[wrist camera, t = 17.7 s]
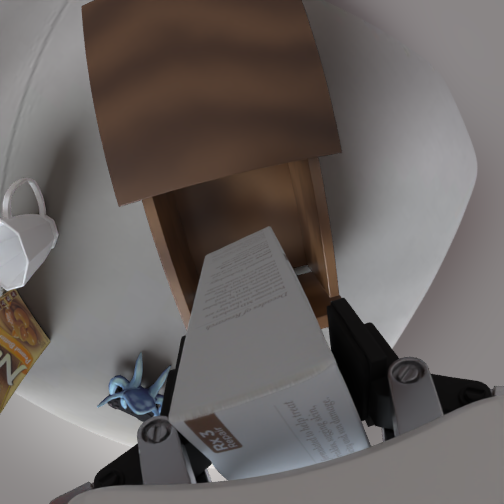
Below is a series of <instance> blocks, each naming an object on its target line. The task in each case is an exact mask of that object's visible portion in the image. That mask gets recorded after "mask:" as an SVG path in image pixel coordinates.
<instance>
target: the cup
mask: <svg viewBox="0 0 504 504" xmlns="http://www.w3.org/2000/svg"><path fill="white" fill-rule="evenodd" d="M25 182H29V184H30V185H31V187H32V189H33V191H34V193H35V196H36V198H37V201H38V205H39V215H38V214H23V215H17V216H12V212H11V203H10V202H11V198H12V196H13V194H14V192H15V190H16V189H17V187H19V186H20V185H21V184H23V183H25ZM58 236H59V233H58V230H57V227H56V224H55V221H54V220H53V219H52V218H50V217H49V216H47V215H46V206H45V202H44V198H43V196H42V193H41V191H40V188H39V186H38V184H37V183H36V181H35V180H34V179H30V178H21V179H19V180H17V181H15V182H14V183H13V184H11V185H10V187H9V188H8V190H7V192H6V193H5V196H4V200H3V218H0V286H2V287H3V288H4V289H5V290H7V291H9V290H12V289H16V288H19V287H23V286H24V285H25V284H26V283H27V282H28V280H29V279H30V278H31V276H32V275H33V274H34V273H35V271H36V270H37V269H38V268H39V267H40V265H41V264H42V263H43V262H44V260H45V259H46V257H47V256H48V254H49V252H50V250H51V249H53V248H54V247H55V245H56V242H57V239H58Z"/></svg>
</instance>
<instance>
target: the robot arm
mask: <svg viewBox="0 0 504 504" xmlns="http://www.w3.org/2000/svg"><path fill="white" fill-rule="evenodd" d="M327 317H328V326H329V335H330V344H331V352H332V354H333V356H334V358H335V360H336V364H337V367H338V369H339V371H340V373H341V375H342V377H343V379H344V381H345V384H346V386H347V388H348V391H349V393H350V395H351V398H352V400H353V403H354V405H355V407H356V410H357V412H358V414H359V417H360V419H361V421H364V420H365V421H366V423H367V425H368V427H369V426H372V425H375V426H378V427H382V436H383V442H382V443H380V444H377V445H374V446H371V447H369V448H366V449H363V450H360V451H357V452H354V453H351V454H348V455H345V456H342V457H338V458H335V459H332V460H328V461H325V462H321V463H317V464H314V465H310V466H306V467H302V468H297V469H293V470H289V471H284V472H279V473H274V474H268V475H263V476H257V477H251V478H244V479H237V480H228V481H220V482H212V481H211V478H210V476H209V473H208V470H207V468H208V467H209V466H210V465H211V464H212V462H211V461H210V460H209V459H208V458H207V457H206V456H205V455H204V454H203V453H202V452H200V451H199V450H198V449H197V448H196V447H195V446H194V445H193V444H192V443H191V442H190V441H188V440H187V439H186V438H185V437H184V436H183V435H182V434H181V433H180V432H179V431H178V430H177V429H176V428H175V427H174V426H173V425H172V424H171V423H170V422H169V412H170V407H171V403H172V397H173V393H174V389H175V384H176V379H177V374H178V369H179V365H180V360H181V356H182V351H183V347H184V342H185V338H186V336H183V337H182V338H181V343H180V348H179V353H178V358H177V364H176V369H174V370H170V371H169V373H168V377H167V382H166V387H165V392H164V397H163V402H162V407H161V412H160V416H154V417H152V418H149V419H148V420H146V421H145V422H143V423H142V425H141V426H140V427H139V429H138V432H137V440H138V444H136V445H135V446H134V447H132V448H131V449H130V450H128V451H127V452H125V453H124V454H123V455H121V456H120V457H118V458H117V459H116V460H114V461H113V462H111V463H110V464H108V465H107V466H106V467H104V468H103V469H101V470H100V471H99V472H98V473H97V475H96V476H95V479H94V483H92V484H91V483H90V482H87V483H85V484H83V485H81V486H79V487H77V488H75V489H73V490H71V491H69V492H67V493H65V494H63V495H61V496H59V497H57V498H55V499H53V500H52V501H51V502H50V504H504V386H494V388H493V389H490V388H489V387H488V386H487V385H486V384H484V383H482V382H479V381H473V380H467V379H460V378H452V377H447V376H441V375H435V374H430V371H429V368H428V366H427V365H426V363H425V362H423V361H422V360H421V359H418V358H414V357H404V358H400V359H399V358H398V356H397V355H396V354H395V353H394V351H393V350H392V348H391V347H390V346H389V344H388V343H387V342H386V340H385V339H384V338H383V336H382V335H381V334H380V333H379V331H378V330H377V329H376V327H375V326H374V325H373V324H372V323H370V322H369V323H366V324H363V322H362V321H361V320H360V318H359V317H358V315H357V314H356V313H355V311H354V310H353V309H352V307H351V306H350V305H349V303H348V302H347V301H346V299H345V298H341V299H337V300H334V301H331V302H330V305H329V306H327Z"/></svg>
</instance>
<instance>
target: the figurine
mask: <svg viewBox="0 0 504 504" xmlns="http://www.w3.org/2000/svg"><path fill="white" fill-rule="evenodd" d="M170 367H171V365H170V366H169V367H168V368H167V369H166V370H164V371H163V372H162V374H161V375H160V377H159V378H158V379H157V381H156V382H155V383H154V385H152V386H151V387H149V388H148V389H147V388H143V387H142V386H141V378H142V373H143V362H142V352H141V353H140V355H139V357H138V359H137V361H136V365H135V371H134V376H133V378H132V380H131V382H130V381H128V380H127V379H126V378H125V377H123V376H121V375H117V376H115V377H114V378H112V379H111V380H110V382H109V391H110V394H109V396H108V397H106V398H105V399H104V400H103V401H102V402H101V403H100V404H99V405H98V406H97V407H101V406H103V405H104V404H106V403H108V404H109V405H110V406H111V407H112V408H115V409H119V410H121V411H124V412H126V413H128V414H130V415H132V416H134V417H137V418H138V419H139V420H140V421H143V422H145V421H146V420H148V419H149V418H152V417H153V416H160V412H161V407H162V402H163V397H164V396H163V395H160V394H157V393H158V391H159V390H160V388H161V387H162V385H163V384H164V382H165V380H166V378H167V375H168V372H169V370H170ZM117 386H120V387H122V388H123V391H120V389H119V388H118V387H117ZM156 404H160V407H159V409H158V406H157V405H156Z"/></svg>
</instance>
